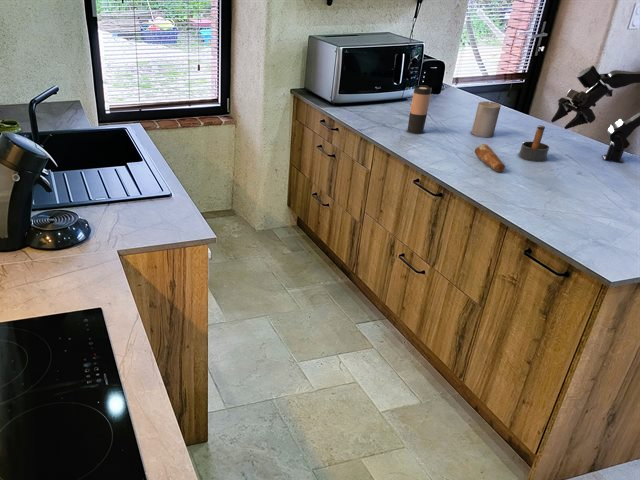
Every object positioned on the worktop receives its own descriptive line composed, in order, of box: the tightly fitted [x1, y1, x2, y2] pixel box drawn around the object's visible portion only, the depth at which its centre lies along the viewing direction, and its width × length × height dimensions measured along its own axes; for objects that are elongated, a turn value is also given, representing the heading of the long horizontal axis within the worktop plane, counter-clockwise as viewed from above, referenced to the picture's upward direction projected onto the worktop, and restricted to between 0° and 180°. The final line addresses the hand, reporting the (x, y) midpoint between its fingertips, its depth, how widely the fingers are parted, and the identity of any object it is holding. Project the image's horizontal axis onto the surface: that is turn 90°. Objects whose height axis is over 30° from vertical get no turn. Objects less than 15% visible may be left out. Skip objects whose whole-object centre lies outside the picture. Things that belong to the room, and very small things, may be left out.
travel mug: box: [407, 84, 432, 135], centre depth 270 cm, size 8×8×20 cm
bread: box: [474, 143, 506, 173], centre depth 238 cm, size 6×19×6 cm, turn 2°
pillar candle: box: [471, 100, 502, 138], centre depth 269 cm, size 10×10×15 cm
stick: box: [531, 124, 546, 149], centre depth 244 cm, size 3×3×12 cm
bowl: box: [518, 141, 550, 162], centre depth 247 cm, size 10×10×5 cm
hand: (558, 125), depth 242 cm, fingers open, 9 cm apart
